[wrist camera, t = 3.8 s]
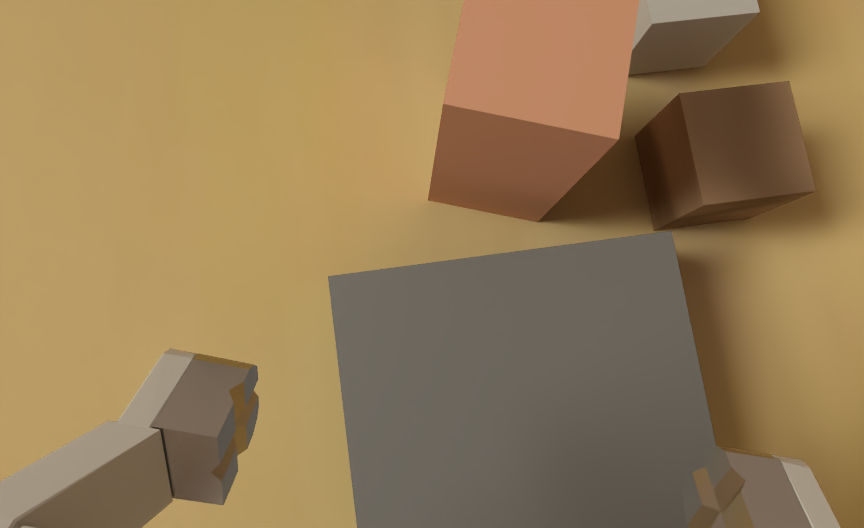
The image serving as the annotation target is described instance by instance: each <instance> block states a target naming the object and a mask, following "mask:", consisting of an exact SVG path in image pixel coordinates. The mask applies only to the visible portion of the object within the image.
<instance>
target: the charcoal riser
mask: <svg viewBox="0 0 864 528" xmlns="http://www.w3.org/2000/svg"><path fill="white" fill-rule="evenodd" d="M328 279H329V288H330V297H331V305H332V314H333V323H334V331H335V340H336V348H337V357H338V366H339V374H340V383H341V392H342V400H343V409H344V417H345V426H346V435H347V443H348V452H349V461H350V469H351V478H352V487H353V495H354V504H355V512H356V521H357V528H689V527H688V525H687V523H686V519H685V515H684V511H683V493H684V488H685V484H686V482H687V480H688V479H689V477H690V475H691V474H692V473H693V472H695V471H697V470H699V469H701V468H704V467H706V466H705V463H704V460H703V457H704V455H705V454H706V452H707V451H708V450H709V449H710V448H712V447H714V446H716V442H715V437H714V433H713V428H712V423H711V418H710V413H709V409H708V404H707V399H706V394H705V389H704V385H703V380H702V375H701V370H700V365H699V361H698V356H697V351H696V346H695V341H694V337H693V332H692V327H691V322H690V317H689V313H688V308H687V303H686V298H685V293H684V289H683V284H682V279H681V274H680V269H679V265H678V260H677V255H676V250H675V245H674V241H673V236H672V231H668V232H660V233H652V234H645V235H637V236H630V237H622V238H615V239H607V240H600V241H592V242H584V243H577V244H569V245H562V246H554V247H547V248H539V249H531V250H524V251H516V252H509V253H501V254H494V255H486V256H479V257H471V258H463V259H456V260H448V261H441V262H433V263H426V264H418V265H411V266H403V267H395V268H388V269H380V270H373V271H365V272H358V273H350V274H342V275H335V276H328Z"/></svg>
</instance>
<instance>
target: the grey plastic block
mask: <svg viewBox="0 0 864 528" xmlns="http://www.w3.org/2000/svg"><path fill="white" fill-rule="evenodd" d="M759 13H760V10H759V6H758V2H757V0H639V6H638V12H637V19H636V26H635V33H634V40H633V47H632V54H631V60H630V67H629V74H628V75H635V74H644V73H652V72H661V71H670V70H679V69H687V68H696V67H704V66H705V65H706V64H707V63H708V62H709V61H710V60H711V59H712V58H713V57H714V56H715V55H716V54H718V53H719V52H720V51H721V50H722V49H723V48H724V47H725V46H726V45H727V44H728V43H729V42H730V41H731V40H732V39H733V38H734V37H735V36H736V35H737V34H738V33H739V32H740V31H741V30H742V29H743V28H744V27H745V26H746V25H747V24H748V23H749V22H750V21H751V20H753V19H754V18H755V17H756V16H757V15H758V14H759Z"/></svg>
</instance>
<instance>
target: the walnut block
mask: <svg viewBox="0 0 864 528" xmlns="http://www.w3.org/2000/svg"><path fill="white" fill-rule="evenodd" d="M635 139H636V144H637V149H638V154H639V159H640V164H641V169H642V174H643V179H644V183H645V188H646V193H647V198H648V203H649V208H650V213H651V218H652V223H653V228H654V230H662V229H670V228H677V227H685V226H693V225H700V224H708V223H716V222H723V221H731V220H739V219H746V218H751V217H753V216H756V215H758V214H760V213H763V212H765V211H768V210H770V209H773V208H775V207H778V206H780V205H783V204H785V203H787V202H790V201H792V200H795V199H797V198H800V197H802V196H805V195H807V194H810V193H812V192H814V191H816V187H815V183H814V179H813V175H812V171H811V167H810V163H809V159H808V155H807V151H806V147H805V143H804V139H803V135H802V131H801V127H800V123H799V119H798V115H797V111H796V107H795V103H794V99H793V95H792V91H791V87H790V83H789V81H784V82H775V83H767V84H758V85H749V86H740V87H732V88H723V89H714V90H705V91H696V92H688V93H679V94H678V95H677V96H676V97H675V98H674V99H673V100H672V101H671V102H670V103H669V104H668V105H667V106H666V107H665V108H664V109H663V110H662V111H661V112H659V113H658V114H657V115H656V116H655V117H654V118H653V119H652V120H651V121H650V122H649V123H648V124H647V125H646V126H645V127H644V128H643V129H642V130H641V131H640V132H639V133H638V134H637V135H636V136H635Z"/></svg>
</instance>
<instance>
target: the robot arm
mask: <svg viewBox="0 0 864 528" xmlns="http://www.w3.org/2000/svg"><path fill="white" fill-rule="evenodd" d="M257 381H258V372H257V366H255V365H253V364H248V363H243V362H238V361H233V360H228V359H223V358H218V357H213V356H208V355H203V354H197V353H192V352H186V351H181V350H176V349H171V348H170V349H169V350H167V351H166V352H165V353H164V354H162V355H161V357H160V358H159V360H158V361H157V363H156V364H155V366H154V367H153V369H152V370H151V372H150V373H149V375H148V376H147V378H146V379H145V381H144V382H143V384H142V385H141V387H140V388H139V390H138V391H137V393H136V394H135V396H134V397H133V399H132V400H131V402H130V403H129V405H128V406H127V408H126V409H125V411H124V412H123V414H122V415H121V417H120V418H119V420H118V421H117V422H115V421H106V422H105V423H103V424H101V425H99V426H98V427H96V428H94V429H92V430H90V431H89V432H87V433H85V434H83V435H82V436H80V437H78V438H76V439H75V440H73V441H71V442H69V443H67V444H66V445H64V446H62V447H60V448H59V449H57V450H55V451H53V452H51V453H50V454H48V455H46V456H44V457H43V458H41V459H39V460H37V461H35V462H34V463H32V464H30V465H28V466H27V467H25V468H23V469H21V470H20V471H18V472H16V473H14V474H12V475H11V476H9V477H7V478H5V479H4V480H2V481H0V528H142V527H143V526H144V525H145V524H146V523H147V522H149V521H150V520H151V519H152V518H153V517H155V516H156V515H157V514H158V513H159V512H161V511H162V510H163V509H164V508H165V507H166V506H168V505H169V504H170V503H171V502H172V501H173V499H172V498H176V499H183V500H190V501H197V502H204V503H211V504H218V505H224V503H225V500H226V498H227V496H228V493H229V491H230V488H231V486H232V484H233V481H234V479H235V477H236V474H237V472H238V463H237V456H238V455H239V454H240V453H242V452H243V451H245V450H246V449H247V448H248V445H249V443H250V440H251V438H252V435H253V432H254V428H255V424H256V420H257V415H258V407H259V401H258V396H257V394H256V393H255V392H254V391H253V390H254V388H255V385H256V383H257ZM703 460H704V463H705V466H706V467H704V468H701V469H699V470H697V471H695V472H693V473H692V474H691V475H690V477H689V479H688V480H687V482H686V484H685V488H684V493H683V511H684V515H685V519H686V523H687V525H688V527H689V528H841V527H840V525H839V524H838V522H837V520H836V518H835V516H834V514H833V512H832V510H831V508H830V506H829V504H828V502H827V500H826V498H825V496H824V494H823V492H822V491H821V489H820V487H819V485H818V483H817V481H816V479H815V477H814V475H813V473H812V471H811V469H810V468H809V466H808V465H807V464H806V463H805V462H804V461H803V460H799V459H793V458H788V457H782V456H776V455H770V454H766V453H760V452H754V451H748V450H742V449H736V448H730V447H723V446H717V445H716V446H714V447H712V448H710V449H709V450H708V451H707V452H706V454H705V455H704V457H703Z"/></svg>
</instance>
